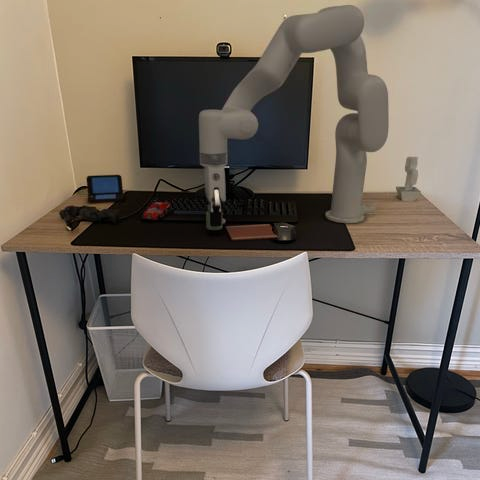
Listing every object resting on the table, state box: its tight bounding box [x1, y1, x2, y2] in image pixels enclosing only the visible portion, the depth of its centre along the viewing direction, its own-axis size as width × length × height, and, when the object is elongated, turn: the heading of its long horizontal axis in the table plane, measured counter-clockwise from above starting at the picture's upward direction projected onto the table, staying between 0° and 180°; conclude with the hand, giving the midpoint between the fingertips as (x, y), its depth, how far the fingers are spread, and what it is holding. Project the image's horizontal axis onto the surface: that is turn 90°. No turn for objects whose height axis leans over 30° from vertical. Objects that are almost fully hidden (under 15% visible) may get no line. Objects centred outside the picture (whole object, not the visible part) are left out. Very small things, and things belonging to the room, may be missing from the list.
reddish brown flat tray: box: [225, 223, 280, 241], centre depth 146 cm, size 14×12×1 cm
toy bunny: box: [205, 200, 227, 231], centre depth 141 cm, size 6×5×9 cm
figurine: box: [395, 156, 422, 202], centre depth 176 cm, size 7×9×15 cm
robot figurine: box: [58, 204, 122, 227], centre depth 154 cm, size 18×4×20 cm
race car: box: [142, 201, 171, 221], centre depth 159 cm, size 13×5×4 cm, turn 161°
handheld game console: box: [86, 174, 125, 204], centre depth 175 cm, size 12×11×7 cm
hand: (214, 222), depth 142 cm, fingers closed on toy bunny, 4 cm apart
